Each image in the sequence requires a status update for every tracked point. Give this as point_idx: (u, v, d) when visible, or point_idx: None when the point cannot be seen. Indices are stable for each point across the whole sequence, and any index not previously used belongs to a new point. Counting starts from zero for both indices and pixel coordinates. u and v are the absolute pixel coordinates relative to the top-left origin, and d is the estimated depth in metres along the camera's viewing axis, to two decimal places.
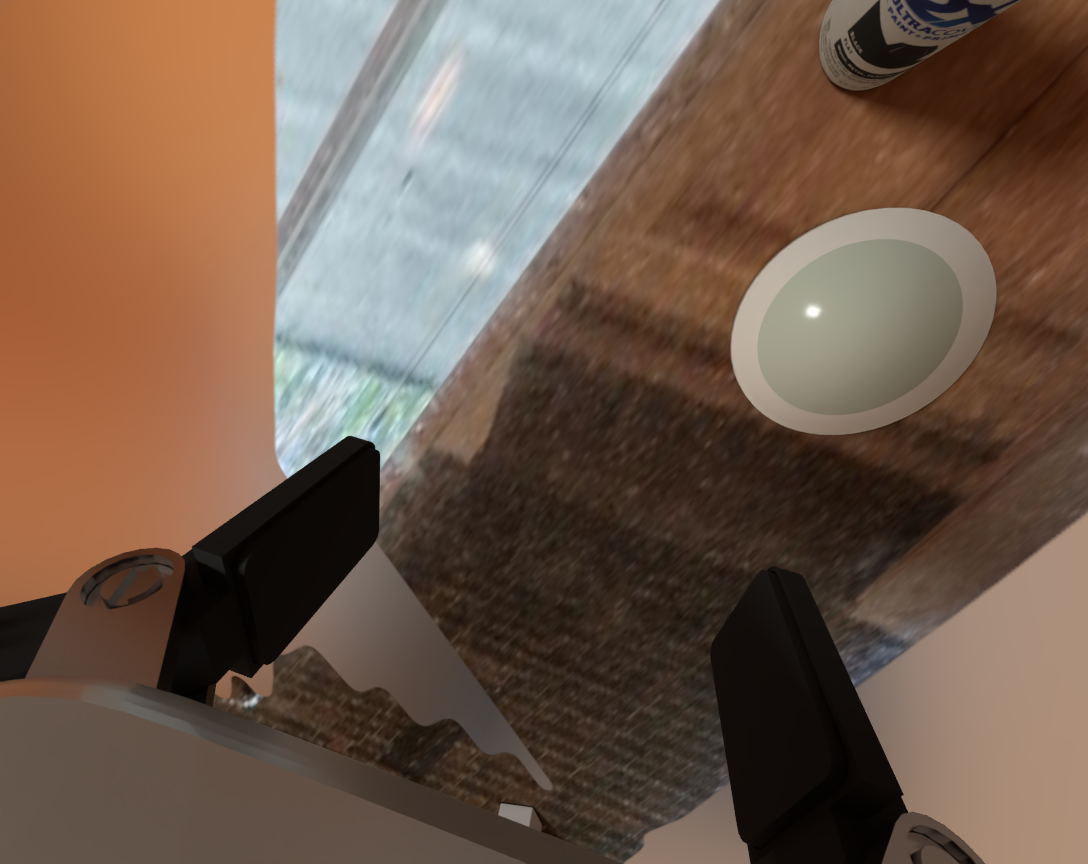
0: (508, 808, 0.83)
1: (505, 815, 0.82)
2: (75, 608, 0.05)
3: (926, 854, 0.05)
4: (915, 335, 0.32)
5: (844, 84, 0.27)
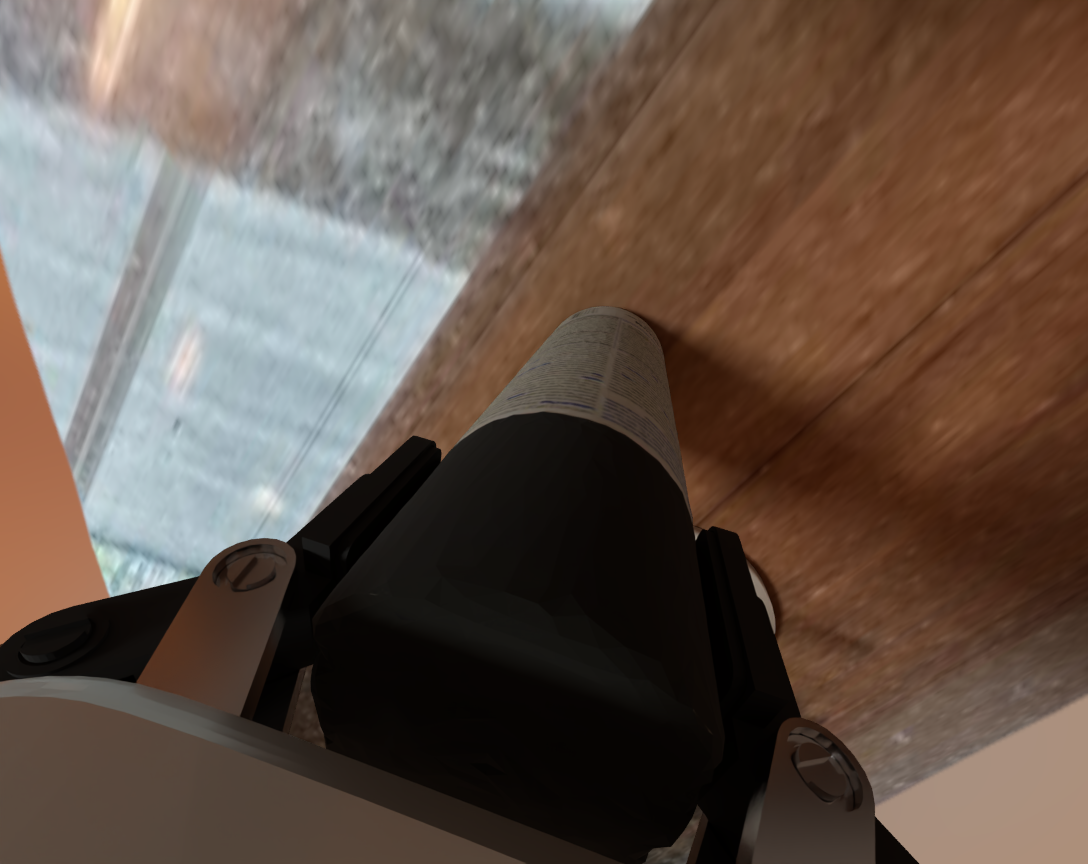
0: None
1: None
2: (210, 591, 0.06)
3: (802, 751, 0.06)
4: None
5: None
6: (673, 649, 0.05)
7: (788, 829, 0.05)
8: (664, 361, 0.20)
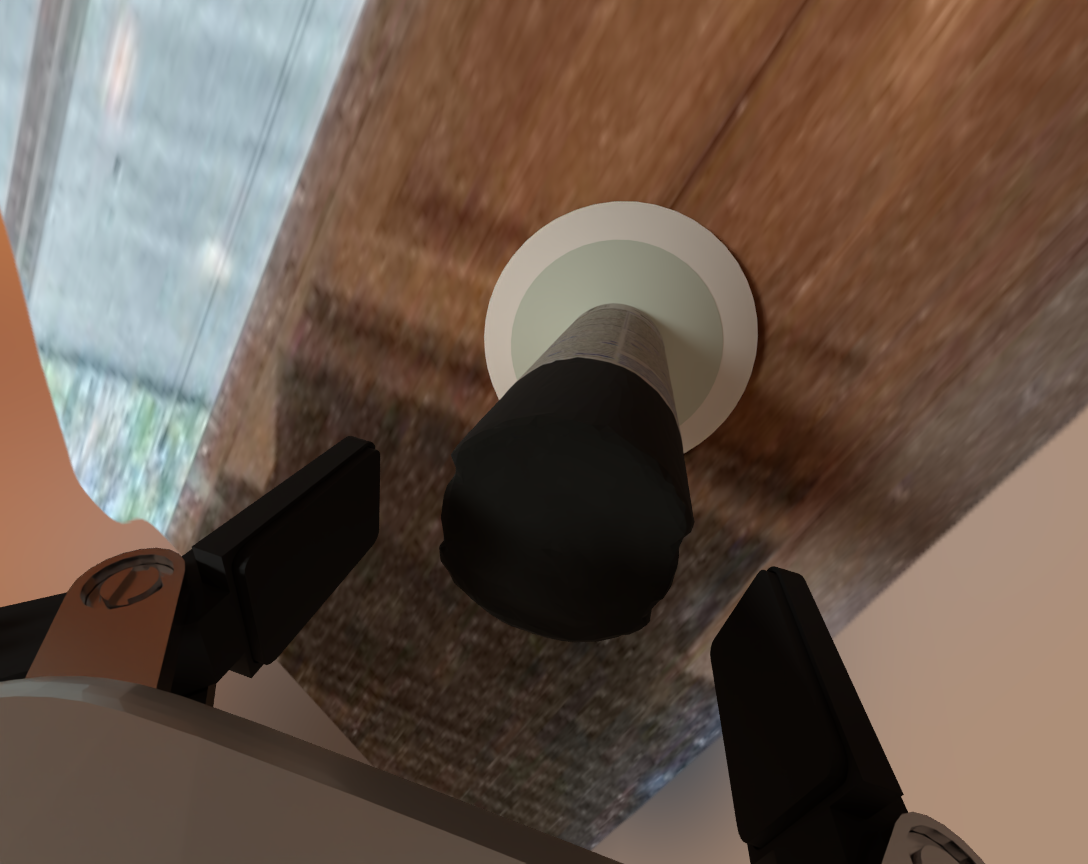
0: None
1: None
2: (75, 608, 0.05)
3: (927, 854, 0.05)
4: (677, 356, 0.27)
5: None
6: (664, 462, 0.09)
7: None
8: (664, 348, 0.24)
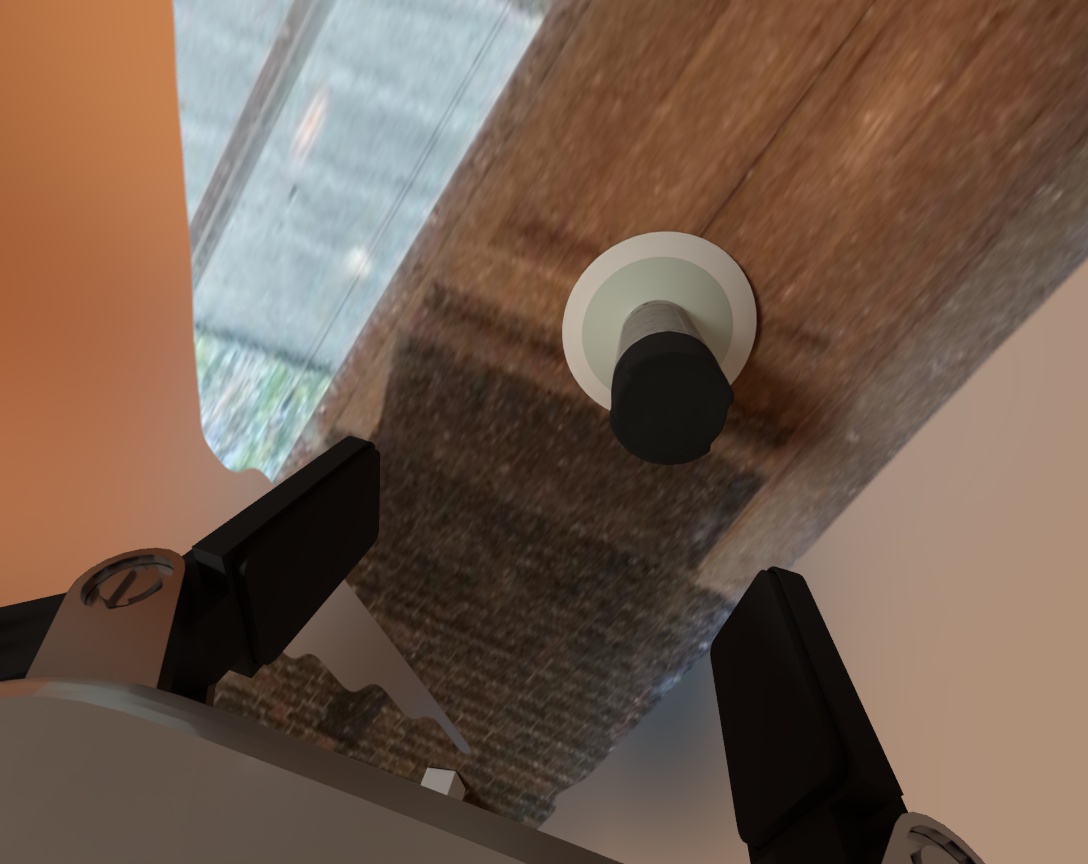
0: (433, 771, 0.89)
1: (429, 778, 0.88)
2: (75, 608, 0.05)
3: (926, 854, 0.05)
4: None
5: None
6: (722, 372, 0.21)
7: None
8: None
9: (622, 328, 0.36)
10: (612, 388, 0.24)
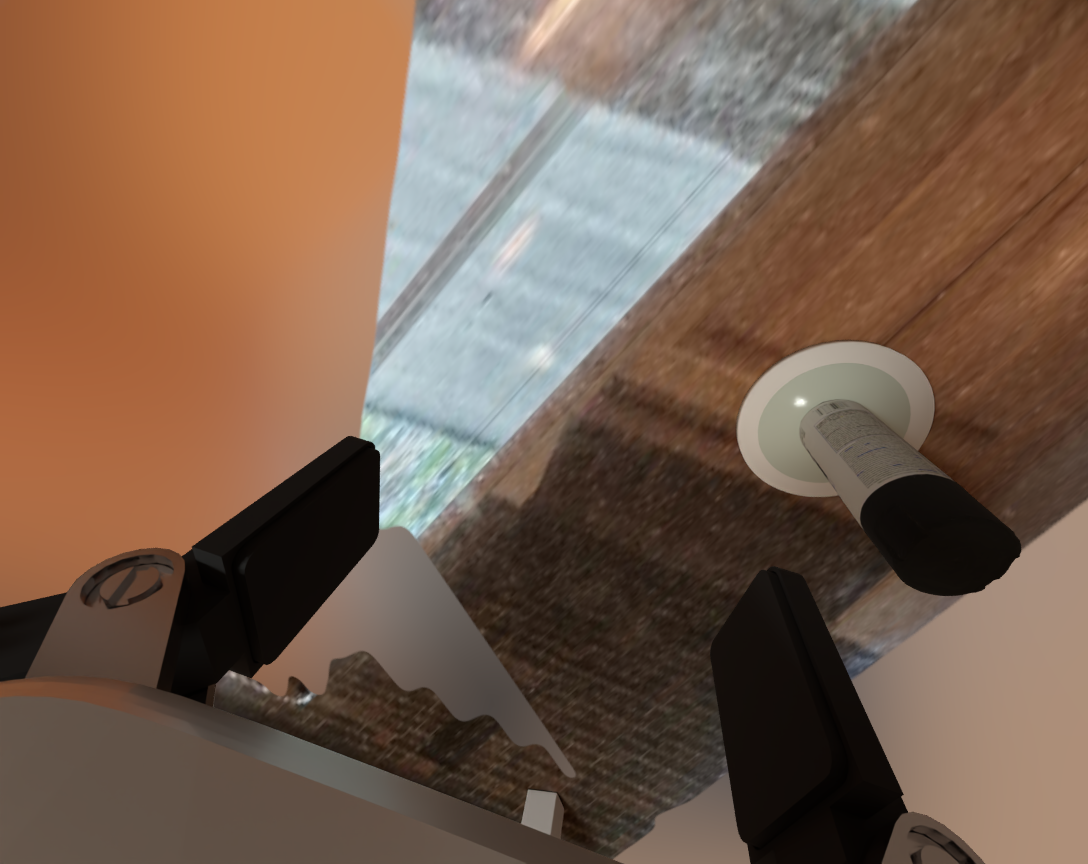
0: (535, 793, 0.94)
1: (532, 799, 0.93)
2: (75, 608, 0.05)
3: (927, 854, 0.05)
4: None
5: None
6: None
7: None
8: None
9: (813, 428, 0.40)
10: (879, 523, 0.29)
